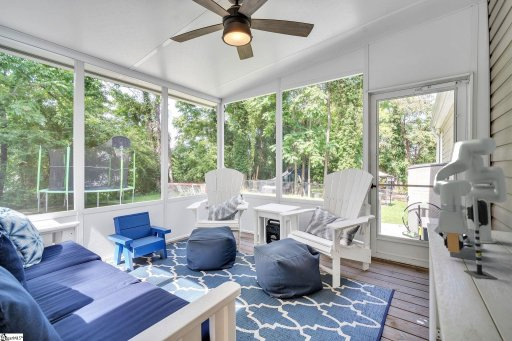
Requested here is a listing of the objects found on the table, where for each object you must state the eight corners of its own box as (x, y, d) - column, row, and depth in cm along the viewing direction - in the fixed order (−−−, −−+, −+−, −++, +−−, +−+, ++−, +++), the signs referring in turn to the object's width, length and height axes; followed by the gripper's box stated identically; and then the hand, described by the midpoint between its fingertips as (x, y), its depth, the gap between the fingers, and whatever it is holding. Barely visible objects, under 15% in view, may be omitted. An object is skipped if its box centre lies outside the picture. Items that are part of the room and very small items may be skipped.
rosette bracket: (456, 244, 132) (455, 226, 132) (484, 248, 124) (483, 228, 124) (449, 256, 114) (447, 234, 115) (480, 261, 106) (479, 238, 107)
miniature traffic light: (499, 279, 88) (494, 197, 89) (475, 278, 90) (470, 197, 91) (484, 271, 96) (479, 195, 97) (462, 270, 97) (458, 196, 98)
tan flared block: (448, 249, 113) (446, 229, 113) (461, 251, 109) (460, 230, 109) (446, 251, 110) (445, 231, 110) (460, 253, 107) (459, 232, 107)
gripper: (476, 208, 107) (479, 249, 106) (430, 206, 119) (433, 243, 118) (475, 210, 101) (478, 254, 101) (427, 208, 114) (429, 247, 113)
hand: (453, 248), depth 110 cm, fingers closed on tan flared block, 4 cm apart
